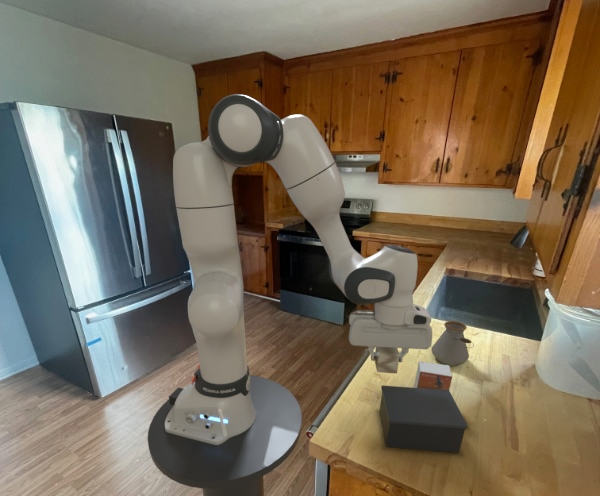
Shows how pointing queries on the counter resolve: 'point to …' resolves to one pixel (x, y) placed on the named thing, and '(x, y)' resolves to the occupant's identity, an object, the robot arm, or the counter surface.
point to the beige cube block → (387, 359)
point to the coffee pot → (452, 345)
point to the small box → (433, 376)
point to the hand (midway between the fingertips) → (386, 360)
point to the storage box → (421, 419)
